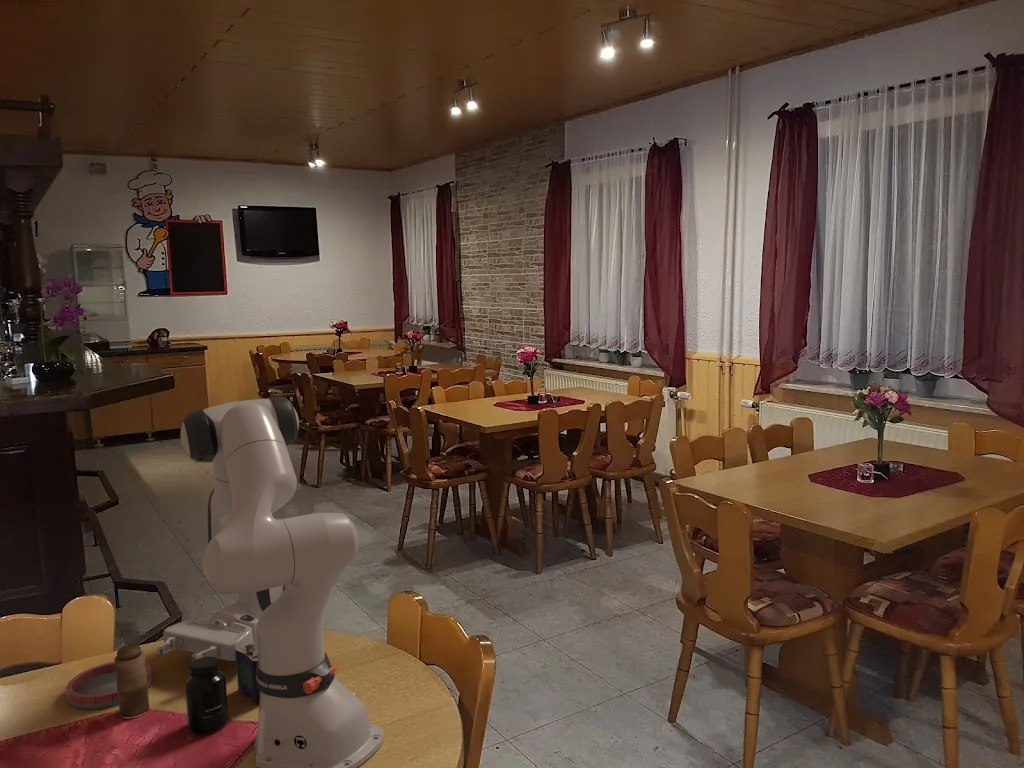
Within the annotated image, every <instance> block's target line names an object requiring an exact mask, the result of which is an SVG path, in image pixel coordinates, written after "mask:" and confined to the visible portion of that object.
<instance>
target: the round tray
mask: <svg viewBox="0 0 1024 768" xmlns="http://www.w3.org/2000/svg"><path fill="white" fill-rule="evenodd" d="M145 667H146V677H147V688H148V689H149V688H150V687H151V685H152V683H153V669H152V666H151V665H150V664H149V663H148V662H147V661H145ZM65 695H66V697H67V704H68V705H69V706H70V707H72V708H75V709H79V710H87V711H88V710H89V711H90V710H101V709H106V708H111V707H115V706H119V700H118V690H117V680H116V670H115V661H110V662H105V663H103V664H99V665H96V666H93V667H90V668H89V669H86V670H84V671H82V672H80V673H78V674H77V675H75V676H74V677H73V678H71V679H70V680H69V681H68V683H67V685H66V687H65Z"/></svg>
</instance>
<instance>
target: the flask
mask: <svg viewBox="0 0 1024 768" xmlns="http://www.w3.org/2000/svg"><path fill="white" fill-rule="evenodd" d="M253 644H255V642H252V644H251V643H250V644H248V645H244V646H239V647H237V648H236V649H235V656H236V660H235V666H236V677H237V678H236V680H237V681H236V682H237V692H238V693H239V694H240V695H243V696H244V698H245V699H247V700H249V702H252V703H253V704H254V705H255V706H257V707H259V703H260V691H259V689H258V687H257V680H256V666H257V664H258V652H257V650H256V649H255V648H254V647H253Z"/></svg>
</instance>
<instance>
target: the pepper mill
mask: <svg viewBox="0 0 1024 768" xmlns="http://www.w3.org/2000/svg"><path fill="white" fill-rule="evenodd" d="M113 660H114V662H115V670H116V680H117V690H118V700H119V704H118V707H119V708H118V711H119V717H120V716H122V717H133V716H137V715H140V714H143V713H144V712H147V711H148V710H149V711H150V700H149V688H147V677H146V667H145V662H146V659H145V651H143V650H142V647H141V646H140V645H138V644H131V645H127V646H123V647H121V648H119V649H118V650H117V651H116V656H115V657H114V659H113ZM149 711H148V712H149ZM148 712H147V713H148Z"/></svg>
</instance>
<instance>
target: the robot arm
mask: <svg viewBox="0 0 1024 768" xmlns="http://www.w3.org/2000/svg"><path fill="white" fill-rule="evenodd" d="M299 427H300V420H299V415H298V412H297V411H296V409H295V407H294V405H293V404H292V402H291V401H290V400H289V399H288V398H286V397H285V396H283V397H282V396H269V397H268V398H256V399H246V400H239V401H236V400H235V401H230V402H225V403H222V404H217V405H214V406H210V407H207V408H204V409H203V408H199V409H196V410H193V411H191V412H189V413H186V415H185V416H184V417H183V419H182V424H181V428H180V441H181V444H182V447H183V449H184V451H185V452H186V454H187V455H188V456H189V458H190V459H191V460H193V461H194V462H196V463H212V465H213V473H214V474H213V475H214V482H215V485H214V489H213V490H211V492H210V494H209V497H208V501H207V536H208V537H207V543H208V545H207V546H206V548H205V550H204V553H203V559H202V566H203V567H202V568H203V573H204V576H205V579H206V580H207V583H208V585H209V586H210V587H211V588H212V589H214V590H215V591H216V592H218V593H219V594H220V595H238V600H237V601H235V602H233V603H232V604H229V605H228V606H226V607H224V608H221V609H219V610H218V611H215V612H214V613H213V614H212V615H211V617H210V619H209V620H203V619H198V618H189V619H186V620H183V621H180V622H177V623H175V624H173V625H170V626H168V627H166V628H165V629H164V630H163V633H162V634H163V643H162V644H161V645H159V646H158V647H157V654H158V655H159V656H167V655H169V654H171V653H172V652H171V650H172V649H173V650H175V649H177V650H181V651H186V652H189V653H192V654H191V663H192V662H193V661H194V660H196V659H199V658H202V657H216V658H217V659H218V660H219V659H220V660H224V661H228V662H232V661H236V656H235V649H236V648H237V647H239V646H244V645H248V644H250V643H251V644H252V642H255V644H253V647H254V648H255V649H256V651H257V652H258V664H257V666H256V680H257V687H258V689H259V691H260V703H259V705H258V722H257V731H256V737H255V740H254V745H253V747H254V750H255V752H256V756H255V767H257V768H358V767H360V766H361V765H362V764H364V763H365V762H366V761H368V760H369V758H371V757H372V756H373V755H374V754H375V753H376V752H377V750H379V748H380V747H381V746H382V744H383V742H384V740H385V730H384V729H383V727H380V726H378V725H375V724H373V723H372V722H370V716H369V712H368V709H367V707H366V704H365V703H364V702H363V701H362V700H360V699H359V698H358V695H357V694H356V692H354V691H351V690H349V688H347V687H346V686H345V685H344V684H343V683H342V682H341V681H339V679H337V677H336V675H335V673H336V671H338V670H339V669H340V668H339V667H338V666H339V663H338V662H337V663H335V664H334V665H332V663H331V661H330V659H329V657H328V654H327V653H326V650H325V613H326V607H327V604H328V601H329V598H330V595H331V593H332V591H333V590H334V588H335V587H334V586H335V585H336V583H337V581H338V580H339V579H340V577H341V576H342V575H343V574H344V572H346V570H347V569H348V568H349V567H350V566H352V564H353V563H354V562H355V559H356V557H357V555H358V551H359V548H360V537H359V532H358V530H357V527H356V526H355V524H354V522H353V521H352V520H351V519H350V518H349V517H348V516H347V515H346V514H344V513H342V512H313V513H309V514H307V513H306V514H302V515H298V516H292V517H286V518H282V519H280V518H278V519H276V518H274V516H273V514H274V513H276V512H277V511H278V510H280V509H282V508H283V507H284V506H285V505H286V504H287V503H288V502H289V501H290V500H291V499H292V498H293V496H294V495H295V493H296V491H297V486H298V479H297V475H296V473H295V472H296V471H295V469H294V466H293V462H292V460H291V456H290V453H289V451H288V446H290V445H291V444H294V442H295V441H296V439H297V437H298V435H299V429H300V428H299Z"/></svg>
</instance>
